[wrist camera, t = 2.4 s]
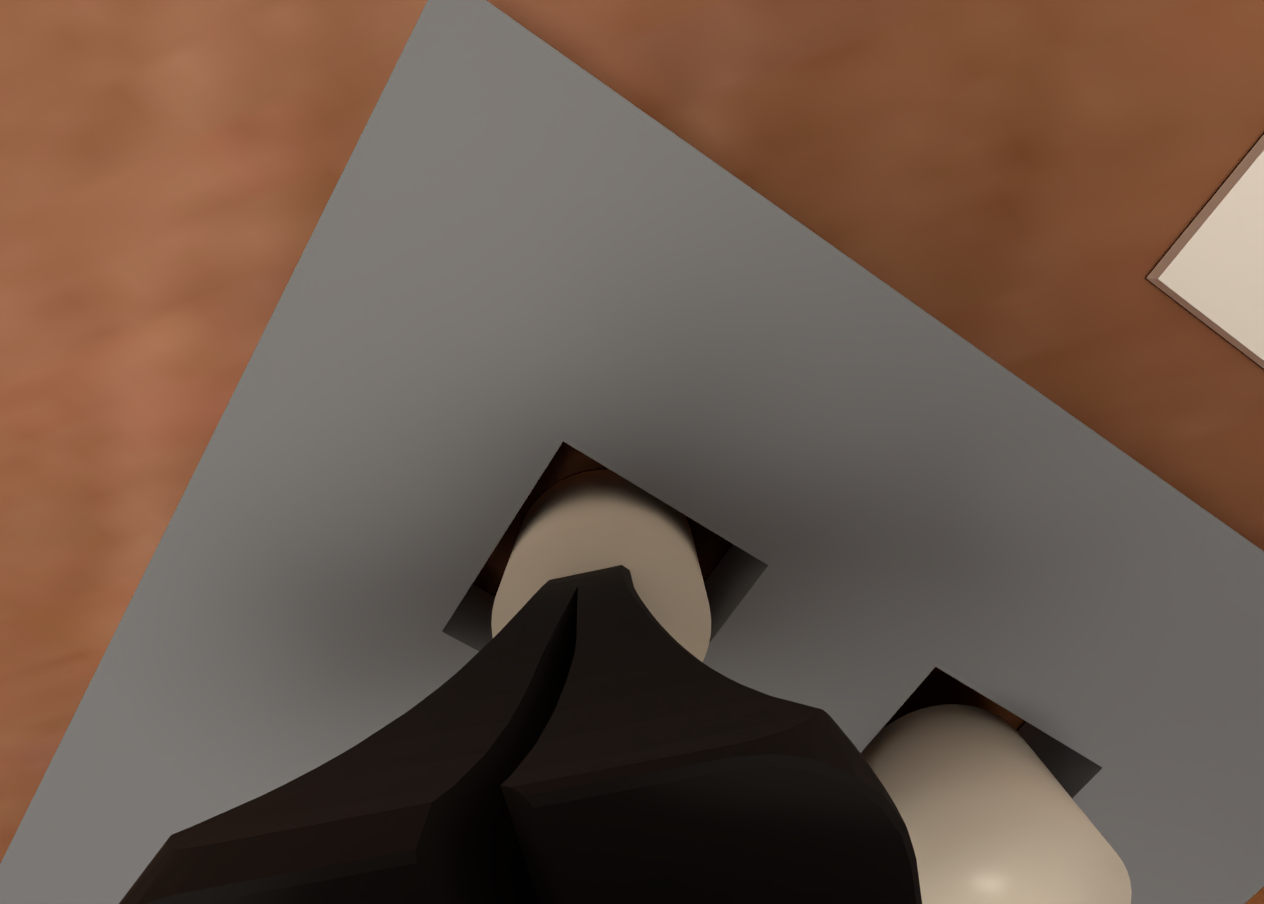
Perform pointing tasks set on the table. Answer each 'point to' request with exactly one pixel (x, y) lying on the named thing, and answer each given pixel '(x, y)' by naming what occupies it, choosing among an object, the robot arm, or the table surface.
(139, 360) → the table surface
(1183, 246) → the card
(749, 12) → the table surface
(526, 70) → the board
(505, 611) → the button
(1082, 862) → the button
